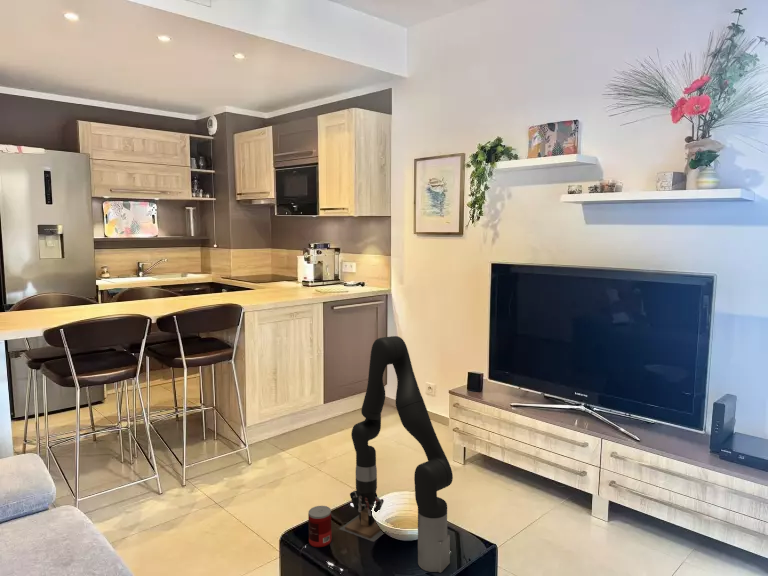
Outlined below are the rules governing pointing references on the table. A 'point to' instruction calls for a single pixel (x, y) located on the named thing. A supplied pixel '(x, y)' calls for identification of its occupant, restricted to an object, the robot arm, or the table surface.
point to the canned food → (319, 526)
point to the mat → (361, 535)
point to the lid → (363, 526)
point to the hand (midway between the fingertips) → (366, 522)
